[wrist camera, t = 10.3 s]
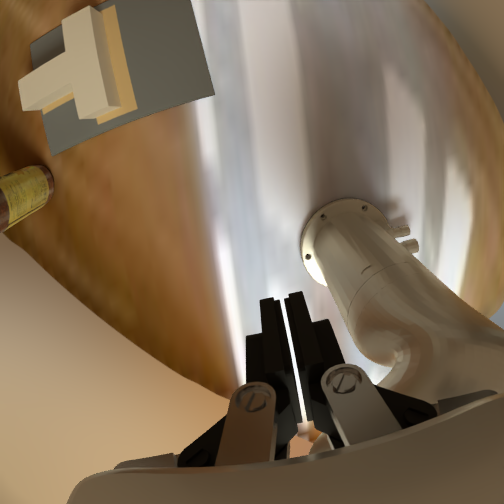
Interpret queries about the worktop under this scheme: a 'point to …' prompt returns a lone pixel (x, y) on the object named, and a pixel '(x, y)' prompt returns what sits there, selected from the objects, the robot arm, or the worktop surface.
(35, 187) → the sauce bottle
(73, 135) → the mat
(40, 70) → the T block
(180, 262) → the worktop surface
